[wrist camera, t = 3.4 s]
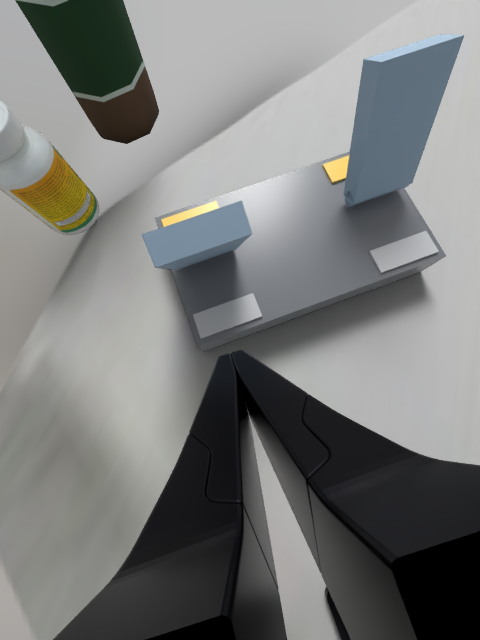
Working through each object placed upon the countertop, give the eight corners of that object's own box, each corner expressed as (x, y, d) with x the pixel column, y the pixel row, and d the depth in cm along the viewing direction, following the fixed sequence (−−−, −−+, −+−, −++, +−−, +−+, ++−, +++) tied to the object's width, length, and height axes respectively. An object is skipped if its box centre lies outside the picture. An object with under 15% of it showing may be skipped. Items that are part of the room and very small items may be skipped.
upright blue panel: (409, 190, 21) (464, 35, 14) (353, 210, 20) (381, 62, 14) (396, 182, 22) (441, 34, 15) (342, 201, 21) (363, 59, 15)
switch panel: (421, 271, 23) (448, 254, 20) (204, 351, 22) (196, 347, 19) (361, 169, 26) (377, 140, 23) (166, 236, 25) (154, 216, 22)
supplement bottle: (40, 228, 26) (-81, 142, 16) (64, 185, 27) (-36, 81, 17) (87, 243, 25) (-10, 162, 16) (110, 198, 26) (32, 97, 17)
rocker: (235, 249, 21) (252, 233, 12) (178, 270, 20) (154, 267, 12) (229, 230, 20) (241, 200, 12) (170, 250, 20) (141, 234, 12)
